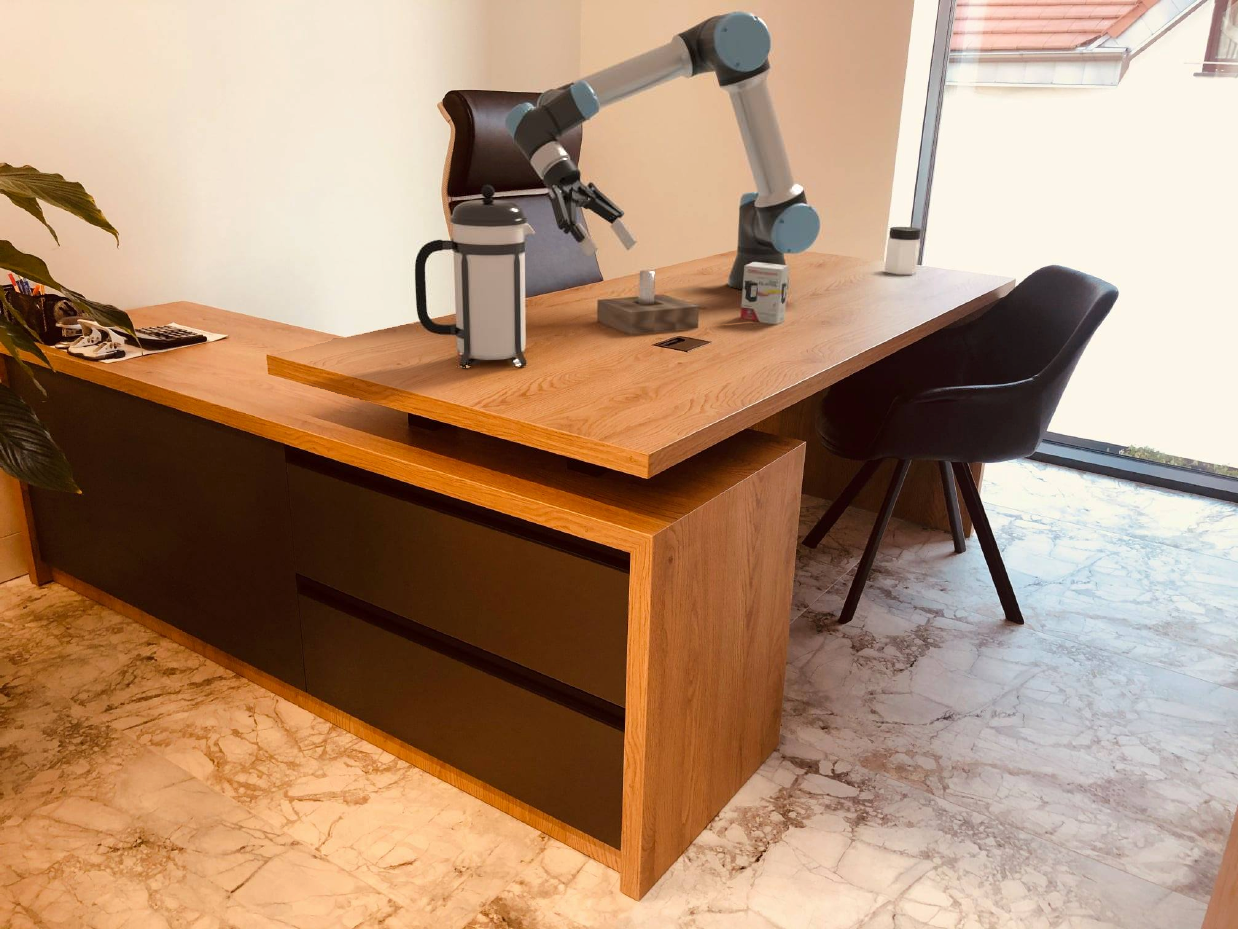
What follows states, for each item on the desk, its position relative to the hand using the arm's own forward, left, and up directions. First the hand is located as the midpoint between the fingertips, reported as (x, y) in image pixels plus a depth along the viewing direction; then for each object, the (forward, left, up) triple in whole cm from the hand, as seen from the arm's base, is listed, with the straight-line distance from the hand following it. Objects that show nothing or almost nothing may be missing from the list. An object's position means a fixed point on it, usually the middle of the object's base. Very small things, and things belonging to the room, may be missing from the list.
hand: (613, 249), depth 208 cm
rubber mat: (-18, -5, -14) cm, 24 cm away
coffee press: (+38, +23, -15) cm, 47 cm away
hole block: (-4, +8, -14) cm, 17 cm away
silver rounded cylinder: (-3, +8, -14) cm, 17 cm away
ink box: (-29, +14, -15) cm, 35 cm away
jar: (-104, -23, -15) cm, 107 cm away
